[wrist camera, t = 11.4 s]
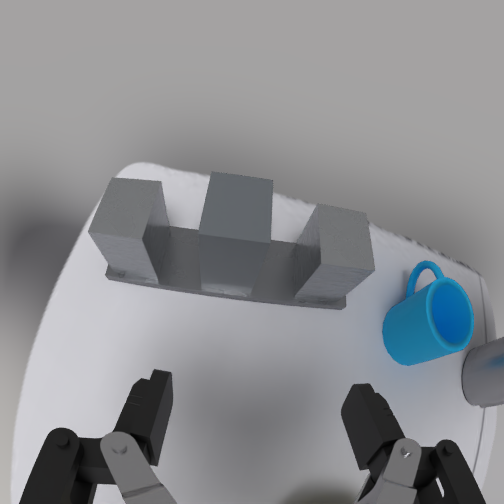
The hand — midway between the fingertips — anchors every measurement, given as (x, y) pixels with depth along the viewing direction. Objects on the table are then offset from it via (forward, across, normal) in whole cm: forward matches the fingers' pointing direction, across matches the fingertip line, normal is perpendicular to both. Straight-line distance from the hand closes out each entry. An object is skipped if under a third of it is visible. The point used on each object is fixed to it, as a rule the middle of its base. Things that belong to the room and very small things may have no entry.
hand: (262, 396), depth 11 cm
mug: (+18, -20, +5) cm, 27 cm away
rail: (+20, +2, +2) cm, 20 cm away
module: (+19, +2, +1) cm, 19 cm away
